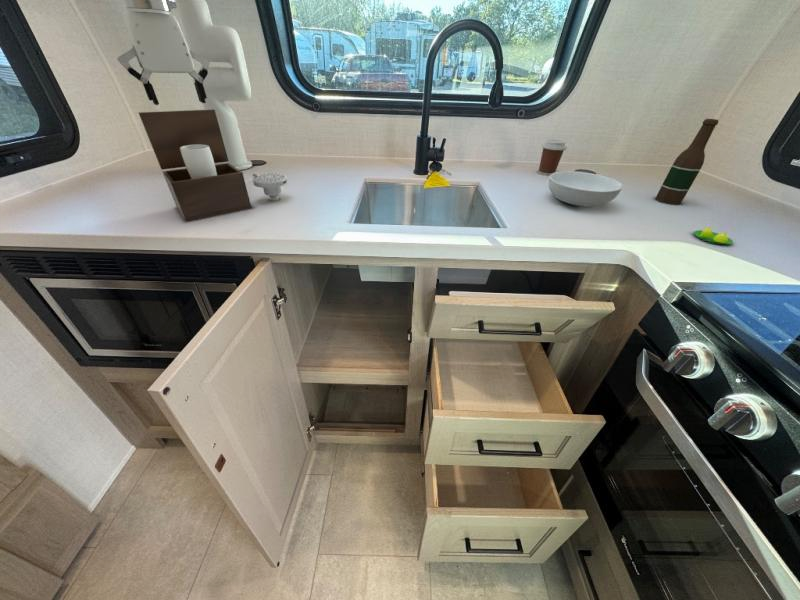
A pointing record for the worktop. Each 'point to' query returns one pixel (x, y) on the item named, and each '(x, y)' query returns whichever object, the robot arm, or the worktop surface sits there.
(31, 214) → the worktop surface
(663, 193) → the beer bottle
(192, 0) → the robot arm
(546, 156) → the coffee cup
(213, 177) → the chest
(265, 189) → the showerhead
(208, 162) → the drinking glass
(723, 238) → the green disc yellow mounds
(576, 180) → the serving bowl
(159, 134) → the lid
